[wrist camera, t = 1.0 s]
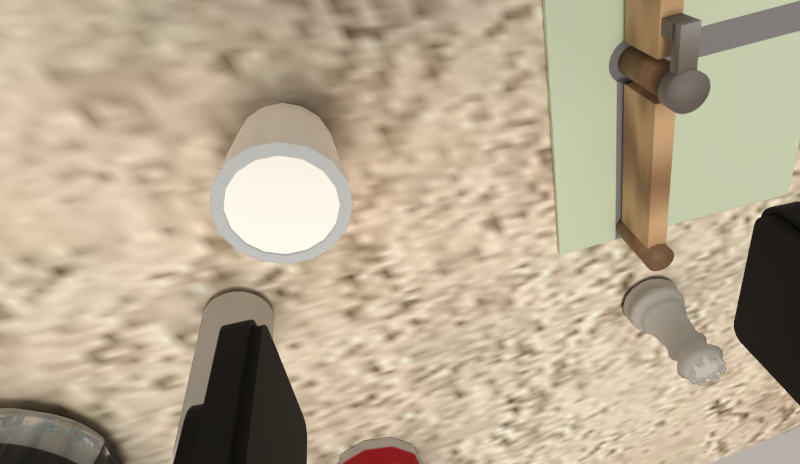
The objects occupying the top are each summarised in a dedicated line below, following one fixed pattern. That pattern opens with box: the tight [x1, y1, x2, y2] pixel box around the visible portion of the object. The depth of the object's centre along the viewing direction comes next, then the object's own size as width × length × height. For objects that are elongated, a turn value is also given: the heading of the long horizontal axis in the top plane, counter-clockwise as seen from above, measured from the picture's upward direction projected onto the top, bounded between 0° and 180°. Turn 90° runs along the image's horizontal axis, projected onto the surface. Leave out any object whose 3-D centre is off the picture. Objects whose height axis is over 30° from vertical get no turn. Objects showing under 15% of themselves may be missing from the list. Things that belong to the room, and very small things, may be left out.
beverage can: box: [173, 291, 274, 458], centre depth 34 cm, size 5×5×12 cm
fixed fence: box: [616, 46, 676, 271], centre depth 34 cm, size 14×2×4 cm, turn 12°
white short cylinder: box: [210, 103, 353, 264], centre depth 30 cm, size 7×7×7 cm
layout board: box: [542, 0, 800, 255], centre depth 33 cm, size 26×17×1 cm, turn 12°
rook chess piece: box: [623, 279, 726, 386], centre depth 41 cm, size 4×4×8 cm
